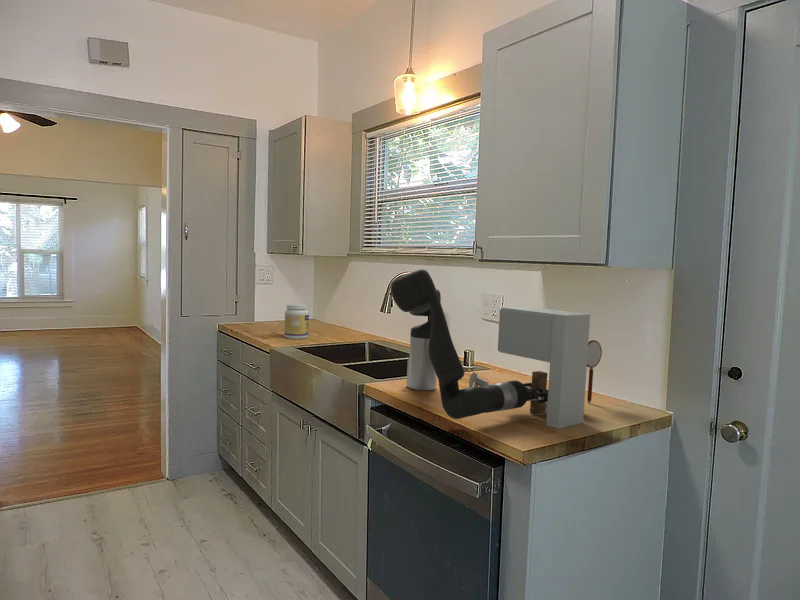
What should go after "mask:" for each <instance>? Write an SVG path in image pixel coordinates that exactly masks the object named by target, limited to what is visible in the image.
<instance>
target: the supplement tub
mask: <svg viewBox="0 0 800 600" xmlns="http://www.w3.org/2000/svg"><path fill="white" fill-rule="evenodd" d="M308 308H309V307H308V304H303V303H290V304H289V303H288V304H286V310H285V311H284V337H285V338H286V339H289V340H290V339H291V340H305V339H308V338H309V334H310V333H309V330H310V329H309V328H310V326H309V325H310V311H309V310H308Z"/></svg>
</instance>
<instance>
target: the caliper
mask: <svg viewBox="0 0 800 600" xmlns="http://www.w3.org/2000/svg"><path fill="white" fill-rule="evenodd" d="M478 374H479V373H476V372H475V371H473V372H472V374H470V376H469V379H468V388H470V387H483V386H488V385H492V384H490V383H489V381H488V380H485V379H483V378H482V377H479V376H478Z"/></svg>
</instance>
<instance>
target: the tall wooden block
mask: <svg viewBox="0 0 800 600" xmlns="http://www.w3.org/2000/svg"><path fill="white" fill-rule="evenodd" d="M531 383H532V387H535V388H541V389H542V390H547V388H548V386H547V385H548V372H545V371H541V370H537V371H532V373H531ZM535 391H536V394H535V395H537V393H538V390H535ZM547 403H548V402H543V403H538V402H537V401H535V400H531V401H530V407H529V413H530V414H532V415H536V416H542V415H545V414H547Z"/></svg>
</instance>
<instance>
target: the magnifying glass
mask: <svg viewBox="0 0 800 600" xmlns="http://www.w3.org/2000/svg"><path fill="white" fill-rule="evenodd" d="M602 354H603V353H602V345H601V344H600V343H599V341H598V340H594V339H592V340H589V341H588V356H587V368H588V369H589V371H588V372H589V373H588V384H587V398H586V399H587V403H588V404H590V403H591V401H592V397H593V395H592V394H593V382H594V381H593V379H594V368H596V366H598V364H599V363H600V361H601V359H602Z"/></svg>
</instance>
